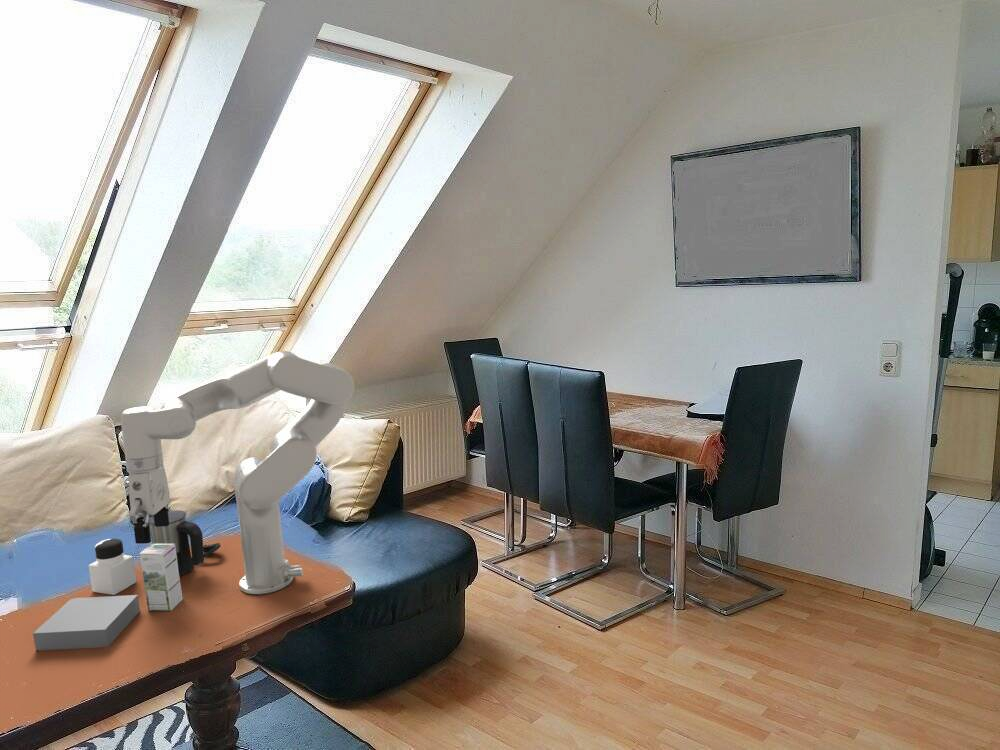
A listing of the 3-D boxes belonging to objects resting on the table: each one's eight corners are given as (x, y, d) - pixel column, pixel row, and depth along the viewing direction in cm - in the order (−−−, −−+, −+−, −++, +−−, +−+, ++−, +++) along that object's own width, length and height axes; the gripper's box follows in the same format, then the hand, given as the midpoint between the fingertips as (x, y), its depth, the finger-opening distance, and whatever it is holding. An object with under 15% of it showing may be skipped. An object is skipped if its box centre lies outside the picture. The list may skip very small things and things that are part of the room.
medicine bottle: (137, 582, 184) (130, 537, 182) (114, 595, 178) (107, 549, 175) (115, 579, 187) (108, 534, 184) (91, 592, 180) (84, 546, 178)
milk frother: (148, 579, 186) (140, 524, 183) (174, 552, 201) (168, 501, 198) (204, 577, 186) (197, 521, 183) (226, 550, 201) (220, 499, 198)
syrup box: (183, 599, 174) (176, 542, 172) (170, 612, 169) (162, 552, 166) (160, 599, 175) (152, 542, 172) (146, 611, 169) (138, 552, 166)
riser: (140, 610, 170) (137, 594, 169) (108, 646, 155) (105, 629, 154) (74, 614, 169) (71, 598, 169) (35, 650, 155) (32, 633, 154)
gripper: (144, 473, 157) (153, 549, 160) (177, 450, 174) (184, 519, 177) (108, 475, 156) (118, 550, 160) (145, 451, 173) (152, 520, 177)
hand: (153, 534), depth 168 cm, fingers open, 9 cm apart
